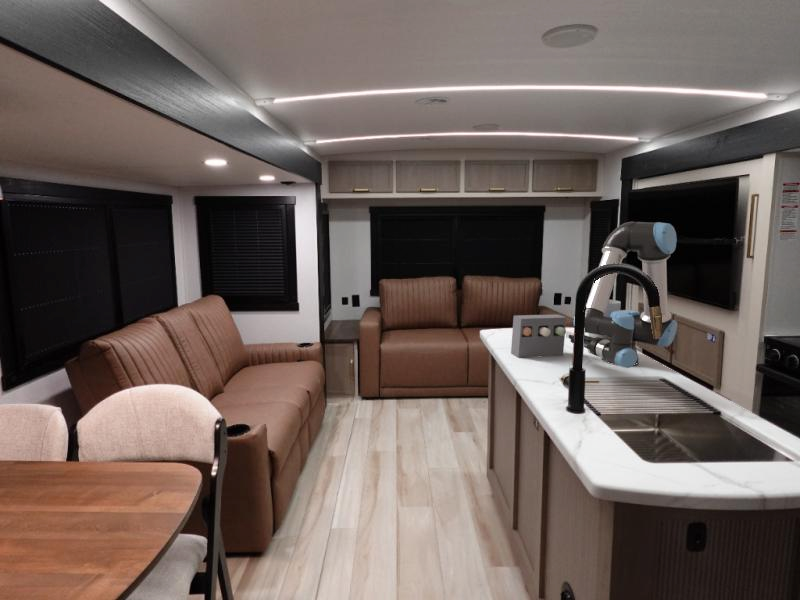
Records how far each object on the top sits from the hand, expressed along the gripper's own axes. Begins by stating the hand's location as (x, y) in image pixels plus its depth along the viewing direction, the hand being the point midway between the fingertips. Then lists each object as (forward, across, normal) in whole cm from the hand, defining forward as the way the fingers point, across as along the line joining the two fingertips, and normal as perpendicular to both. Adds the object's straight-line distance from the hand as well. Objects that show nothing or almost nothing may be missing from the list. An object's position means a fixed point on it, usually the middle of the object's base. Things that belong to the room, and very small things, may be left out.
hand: (567, 334), depth 218 cm
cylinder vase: (+8, +25, -12) cm, 29 cm away
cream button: (+7, -8, -2) cm, 10 cm away
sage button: (+6, 0, -2) cm, 7 cm away
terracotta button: (+9, -16, -2) cm, 18 cm away
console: (+11, -8, -12) cm, 18 cm away
